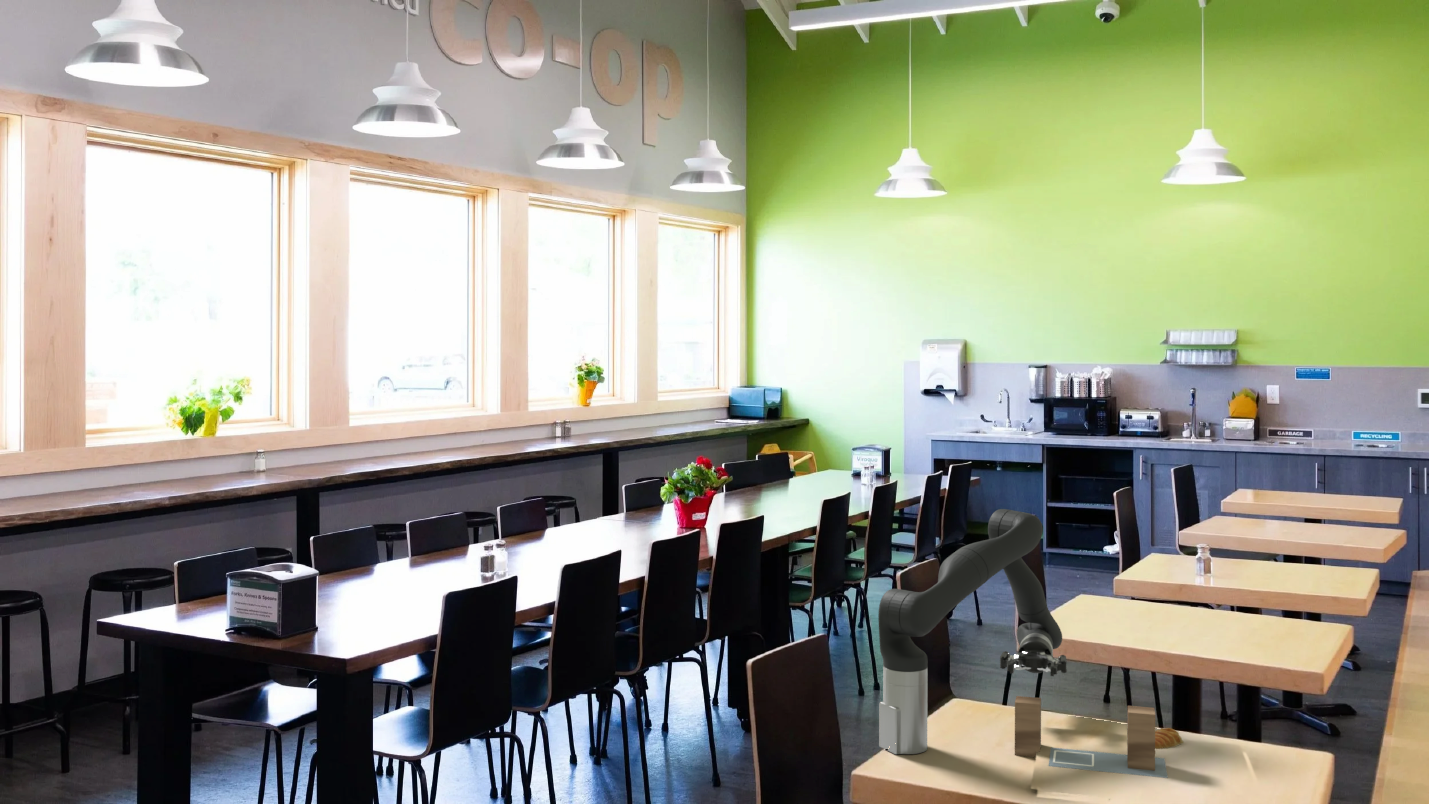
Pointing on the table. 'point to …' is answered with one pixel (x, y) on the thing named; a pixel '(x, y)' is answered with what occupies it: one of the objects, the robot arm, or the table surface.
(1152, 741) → the built pillar
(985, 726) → the table surface
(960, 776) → the table surface
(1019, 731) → the pillar
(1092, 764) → the board
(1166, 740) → the pastry
